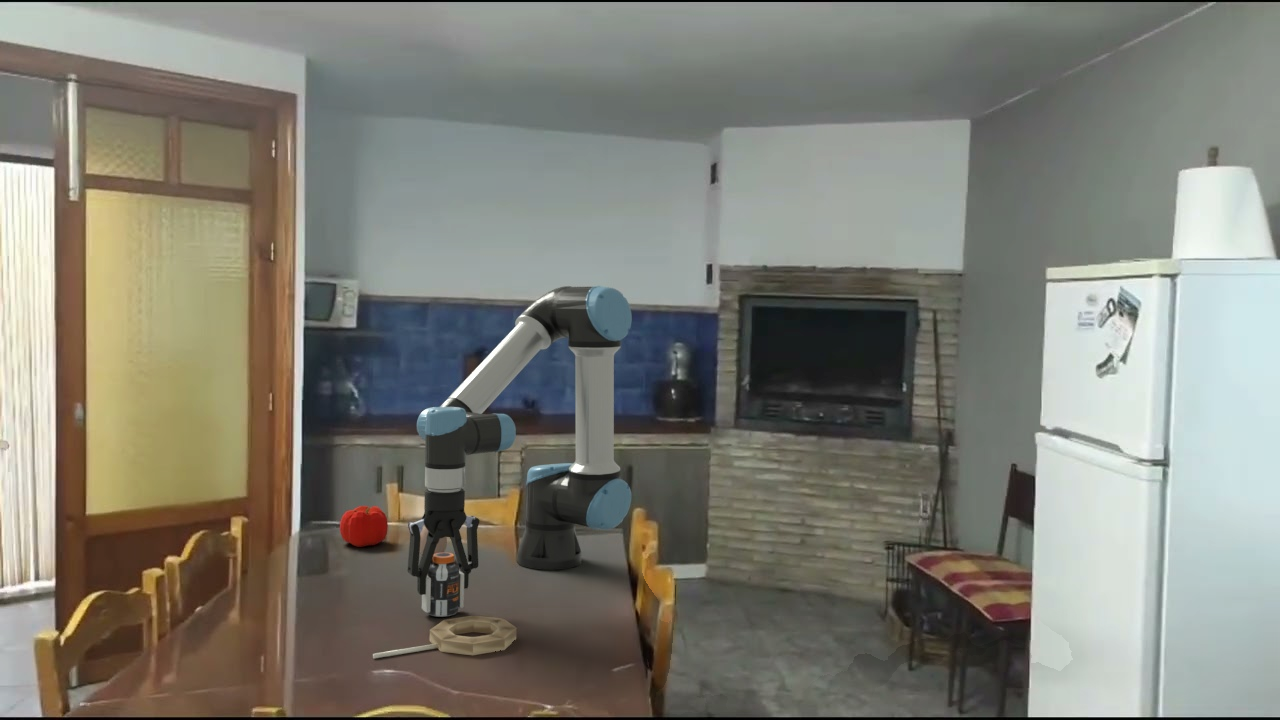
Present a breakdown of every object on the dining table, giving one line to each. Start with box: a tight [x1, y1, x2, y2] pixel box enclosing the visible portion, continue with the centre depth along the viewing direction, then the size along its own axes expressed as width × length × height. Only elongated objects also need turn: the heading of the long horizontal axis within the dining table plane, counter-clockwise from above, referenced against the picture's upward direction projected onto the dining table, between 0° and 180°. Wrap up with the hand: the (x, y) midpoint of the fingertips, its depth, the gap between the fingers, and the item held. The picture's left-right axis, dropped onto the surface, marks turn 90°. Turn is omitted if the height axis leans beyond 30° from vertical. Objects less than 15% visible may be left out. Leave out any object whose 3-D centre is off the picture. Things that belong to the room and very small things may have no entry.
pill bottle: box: [427, 552, 460, 618], centre depth 180 cm, size 6×6×11 cm
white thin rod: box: [372, 643, 438, 660], centre depth 159 cm, size 11×1×1 cm, turn 122°
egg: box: [419, 526, 448, 561], centre depth 219 cm, size 7×7×9 cm
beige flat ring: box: [429, 614, 518, 656], centre depth 166 cm, size 14×14×2 cm
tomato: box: [339, 505, 389, 548], centre depth 231 cm, size 11×12×9 cm
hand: (442, 607), depth 180 cm, fingers closed on pill bottle, 6 cm apart
